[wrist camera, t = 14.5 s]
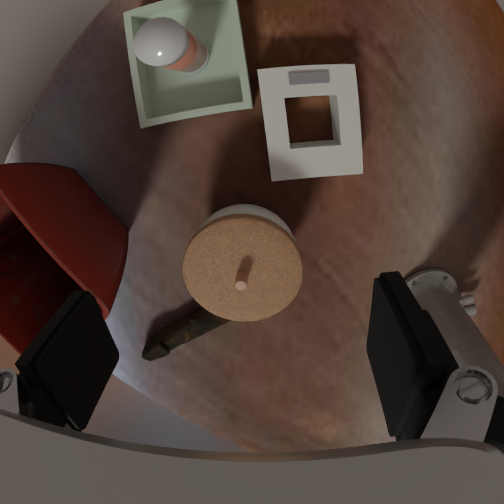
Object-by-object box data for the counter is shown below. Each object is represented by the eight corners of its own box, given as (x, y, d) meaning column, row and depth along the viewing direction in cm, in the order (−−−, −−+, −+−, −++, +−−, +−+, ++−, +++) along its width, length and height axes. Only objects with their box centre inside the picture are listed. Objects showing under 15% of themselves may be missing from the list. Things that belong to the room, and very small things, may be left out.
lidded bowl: (236, 169, 37) (227, 198, 27) (316, 231, 40) (332, 277, 31) (179, 244, 42) (155, 291, 32) (254, 294, 45) (251, 350, 35)
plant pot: (12, 219, 41) (-56, 271, 26) (69, 131, 35) (-20, 163, 20) (89, 301, 47) (41, 375, 32) (162, 234, 41) (113, 313, 26)
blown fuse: (207, 37, 29) (181, 11, 18) (212, 70, 31) (188, 58, 20) (171, 44, 29) (130, 25, 18) (176, 77, 31) (137, 71, 20)
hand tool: (228, 285, 45) (224, 305, 41) (243, 305, 46) (241, 326, 42) (135, 332, 50) (127, 351, 46) (151, 347, 52) (144, 367, 47)
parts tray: (236, -4, 27) (234, -15, 24) (253, 107, 33) (252, 108, 30) (136, 19, 28) (123, 12, 25) (152, 124, 34) (140, 128, 31)
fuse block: (345, 67, 31) (355, 63, 27) (353, 165, 36) (363, 174, 32) (257, 72, 32) (257, 69, 28) (270, 172, 37) (271, 182, 33)
